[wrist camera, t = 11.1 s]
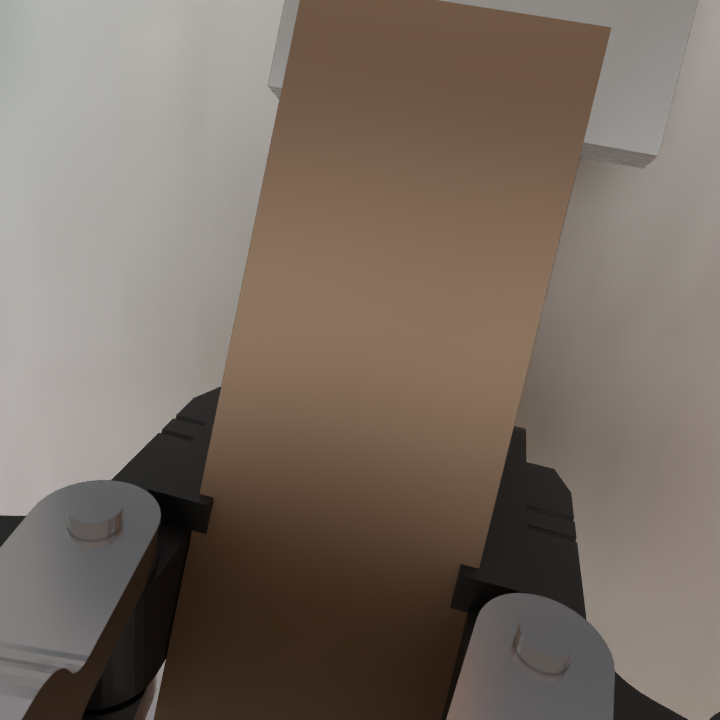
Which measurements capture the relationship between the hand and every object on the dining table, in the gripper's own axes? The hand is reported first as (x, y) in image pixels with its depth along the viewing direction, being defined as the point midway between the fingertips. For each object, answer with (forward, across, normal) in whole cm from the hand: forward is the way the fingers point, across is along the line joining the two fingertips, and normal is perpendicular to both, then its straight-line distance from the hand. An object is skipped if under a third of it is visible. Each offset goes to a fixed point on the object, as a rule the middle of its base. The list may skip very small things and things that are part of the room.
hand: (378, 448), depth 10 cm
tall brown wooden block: (+2, 0, -2) cm, 2 cm away
